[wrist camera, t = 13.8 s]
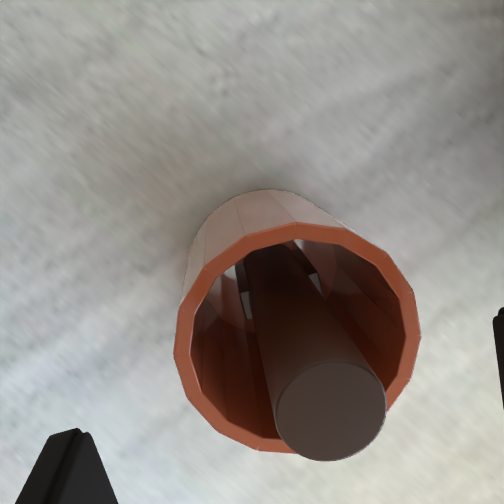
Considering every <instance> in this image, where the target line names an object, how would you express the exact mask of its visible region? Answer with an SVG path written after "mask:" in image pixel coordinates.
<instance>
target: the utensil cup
mask: <svg viewBox="0 0 504 504" xmlns="http://www.w3.org/2000/svg"><path fill="white" fill-rule="evenodd" d="M276 244H283V245H285V246H286V247H288V248H289V249H290V250H291V251H293V250H296V249H301V251H302V252H303V253H304V254H305V256H306V257H307V258H308V260H309V261H310V262H311V264H312V265H313V266H314V268H315V269H316V270H317V271H318V273H319V277H320V281H321V286H322V290H323V294H324V299H325V301H326V302H327V304H328V305H329V307H330V308H331V310H332V311H333V313H334V314H335V316H336V317H337V318H338V320H339V321H340V323H341V324H342V326H343V327H344V329H345V330H346V332H347V333H348V335H349V336H350V338H351V339H352V341H353V342H354V343H355V345H356V346H357V348H358V349H359V351H360V352H361V354H362V355H363V357H364V358H365V360H366V361H367V363H368V364H369V366H370V367H371V368H372V370H373V371H374V373H375V374H376V376H377V377H378V379H379V380H380V382H381V383H382V386H383V388H384V390H385V394H386V399H387V412H388V411H389V409H390V408H391V407H392V405H393V404H394V402H395V401H396V400H397V398H398V397H399V395H400V394H401V393H402V391H403V390H404V388H405V387H406V385H407V384H408V383H409V381H410V379H411V377H412V373H413V369H414V365H415V361H416V357H417V353H418V348H419V344H420V340H421V330H420V324H419V318H418V313H417V307H416V301H415V295H414V292H413V289H412V288H411V286H410V285H409V283H408V282H407V280H406V279H405V278H404V276H403V275H402V273H401V272H400V270H399V269H398V267H397V266H396V265H395V263H394V262H393V260H392V259H391V257H390V256H389V255H388V254H387V253H386V252H385V251H384V250H382V249H381V248H379V247H378V246H376V245H375V244H373V243H372V242H370V241H369V240H367V239H366V238H364V237H363V236H361V235H360V234H358V233H357V232H356V231H354V230H353V229H351V228H350V227H348V226H347V225H345V224H344V223H342V222H341V221H339V220H338V219H336V218H335V217H333V216H332V215H330V214H329V213H327V212H326V211H324V210H323V209H321V208H320V207H318V206H316V205H315V204H313V203H311V202H310V201H308V200H306V199H305V198H303V197H301V196H300V195H298V194H295V193H290V192H286V191H281V190H271V189H267V190H256V191H251V192H247V193H244V194H241V195H238V196H236V197H234V198H232V199H230V200H228V201H226V202H225V203H223V204H222V205H220V206H219V207H218V208H217V209H216V210H214V211H213V212H212V213H211V214H210V215H209V216H208V218H207V219H206V220H205V221H204V223H203V224H202V226H201V227H200V229H199V231H198V233H197V235H196V237H195V239H194V241H193V243H192V246H191V249H190V254H189V259H188V264H187V269H186V274H185V279H184V284H183V289H182V294H181V299H180V304H179V309H178V316H177V325H176V333H175V342H174V350H173V355H174V360H175V364H176V367H177V370H178V373H179V376H180V379H181V382H182V385H183V388H184V391H185V394H186V397H187V398H188V400H189V401H190V402H191V404H192V405H193V406H194V407H195V408H196V409H197V410H198V411H199V412H200V414H201V415H202V416H203V417H204V418H205V419H206V420H207V421H208V422H209V423H210V425H211V426H212V427H213V428H214V429H215V430H216V431H218V432H219V433H221V434H223V435H225V436H227V437H229V438H231V439H233V440H235V441H238V442H240V443H242V444H244V445H246V446H248V447H250V448H252V449H254V450H258V451H266V452H279V453H292V454H297V453H296V452H294V451H293V450H292V449H290V448H289V447H288V446H287V445H286V444H285V443H284V441H283V440H282V438H281V437H280V435H279V433H278V431H277V428H276V424H275V420H274V415H273V410H272V406H271V401H270V396H269V392H268V387H267V383H266V378H265V373H264V369H263V364H262V359H261V355H260V350H259V345H258V341H257V336H256V331H255V327H254V322H253V319H250V320H246V318H245V315H244V311H243V307H242V304H241V300H240V296H239V292H238V286H237V279H236V273H235V266H236V265H240V264H244V260H245V258H246V256H247V255H248V254H249V253H250V252H252V251H254V250H258V249H261V248H265V247H269V246H273V245H276ZM387 412H386V414H387Z"/></svg>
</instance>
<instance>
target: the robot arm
mask: <svg viewBox="0 0 504 504" xmlns="http://www.w3.org/2000/svg"><path fill="white" fill-rule="evenodd" d="M493 330H494V338H495V345H496V353H497V361H498V369H499V377H500V384H501V392H502V400H503V408H504V307H503V308H501V309H500V310H499V312H498V316H495V317H494V318H493ZM15 504H118V502H117V499H116V496H115V494H114V491H113V489H112V486H111V484H110V481H109V479H108V476H107V474H106V471H105V469H104V466H103V463H102V461H101V458H100V456H99V453H98V451H97V448H96V446H95V443H94V441H93V438H92V436H91V434H90V433H89V432H85V433H82V431H81V430H80V429H78V428H75V429H71V430H68V431H64V432H60V433H57V434H53V435H51V436H50V437H49V438H48V439H47V441H46V443H45V445H44V447H43V449H42V451H41V453H40V455H39V457H38V459H37V461H36V463H35V465H34V467H33V469H32V471H31V473H30V475H29V477H28V479H27V481H26V483H25V485H24V487H23V489H22V491H21V493H20V495H19V497H18V499H17V501H16V503H15Z"/></svg>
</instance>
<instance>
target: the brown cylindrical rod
mask: <svg viewBox="0 0 504 504" xmlns="http://www.w3.org/2000/svg"><path fill="white" fill-rule="evenodd" d="M235 273H236V279H237V286H238V292H239V296H240V300H241V304H242V307H243V311H244V315H245V318H246V320H250V319H253V322H254V327H255V331H256V336H257V341H258V345H259V350H260V355H261V359H262V364H263V369H264V373H265V378H266V383H267V387H268V392H269V396H270V401H271V406H272V410H273V415H274V420H275V424H276V428H277V431H278V433H279V435H280V437H281V438H282V440H283V441H284V443H285V444H286V445H287V446H288V447H289V448H290V449H292V450H293V451H294V452H296V453H297V454H299V455H301V456H303V457H305V458H308V459H312V460H316V461H337V460H341V459H345V458H348V457H350V456H353V455H355V454H357V453H358V452H360V451H362V450H363V449H364V448H366V447H367V446H368V445H369V444H370V443H371V442H372V441H373V440H374V439H375V438H376V436H377V435H378V434H379V432H380V430H381V428H382V426H383V424H384V421H385V418H386V412H387V399H386V394H385V390H384V388H383V386H382V383H381V382H380V380H379V379H378V377H377V376H376V374H375V373H374V371H373V370H372V368H371V367H370V366H369V364H368V363H367V361H366V360H365V358H364V357H363V355H362V354H361V352H360V351H359V349H358V348H357V346H356V345H355V343H354V342H353V341H352V339H351V338H350V336H349V335H348V333H347V332H346V330H345V329H344V327H343V326H342V324H341V323H340V321H339V320H338V318H337V317H336V316H335V314H334V313H333V311H332V310H331V308H330V307H329V305H328V304H327V302H326V301H325V299H324V294H323V290H322V286H321V281H320V277H319V273H318V271H317V270H316V269H315V268H314V266H313V265H312V264H311V262H310V261H309V260H308V258H307V257H306V256H305V254H304V253H303V252H302V251H301V249H296V250H293V251H291V250H290V249H289V248H288V247H286V246H285V245H283V244H276V245H273V246H269V247H265V248H261V249H258V250H254V251H252V252H250V253H249V254H248V255H247V256H246V258H245V260H244V264H240V265H236V266H235Z"/></svg>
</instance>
